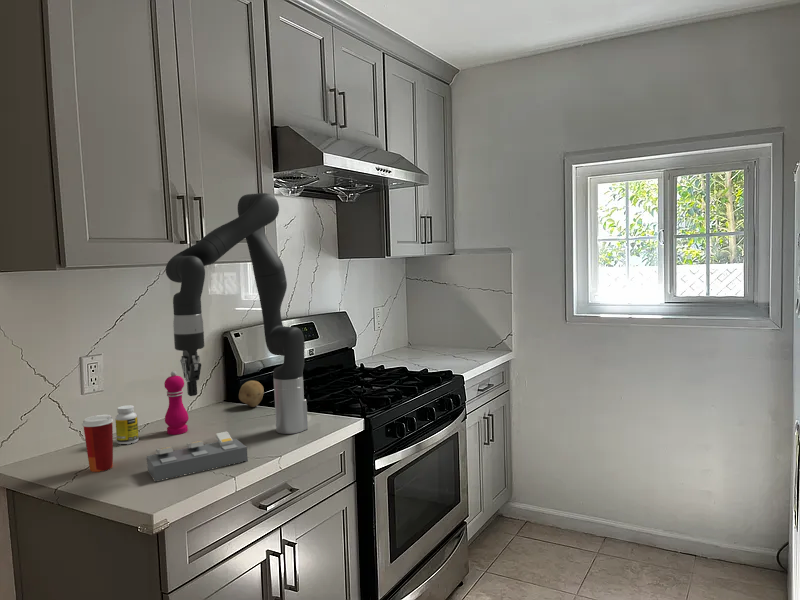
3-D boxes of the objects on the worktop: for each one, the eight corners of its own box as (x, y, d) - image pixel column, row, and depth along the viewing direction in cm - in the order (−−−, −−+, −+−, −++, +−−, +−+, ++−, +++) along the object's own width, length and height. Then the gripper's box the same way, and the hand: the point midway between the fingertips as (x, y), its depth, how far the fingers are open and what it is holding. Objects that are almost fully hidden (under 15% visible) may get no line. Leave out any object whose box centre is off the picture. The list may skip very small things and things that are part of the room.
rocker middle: (199, 445, 169) (198, 441, 169) (203, 445, 165) (203, 440, 165) (187, 448, 167) (186, 443, 167) (191, 447, 163) (191, 443, 163)
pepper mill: (164, 436, 193) (160, 374, 191) (166, 430, 200) (162, 370, 198) (188, 433, 195) (184, 372, 193) (190, 427, 202) (186, 368, 200)
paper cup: (121, 462, 170) (118, 413, 168) (109, 472, 162) (105, 421, 161) (93, 464, 169) (89, 414, 168) (79, 474, 162) (75, 422, 161)
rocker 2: (227, 435, 173) (227, 431, 173) (232, 444, 169) (233, 440, 169) (215, 437, 172) (215, 433, 171) (221, 446, 168) (221, 442, 167)
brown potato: (247, 411, 220) (246, 384, 219) (234, 407, 226) (233, 381, 225) (269, 406, 226) (267, 379, 226) (255, 402, 233) (254, 377, 232)
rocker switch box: (236, 451, 175) (235, 437, 175) (247, 461, 167) (246, 445, 167) (147, 470, 163) (146, 454, 162) (155, 481, 154) (154, 465, 154)
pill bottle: (130, 445, 185) (128, 409, 184) (112, 444, 186) (109, 409, 185) (143, 439, 191) (140, 404, 190) (125, 438, 192) (123, 404, 191)
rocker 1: (168, 451, 165) (168, 446, 165) (172, 451, 160) (172, 446, 161) (156, 454, 163) (155, 449, 163) (160, 454, 159) (159, 449, 159)
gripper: (209, 332, 159) (213, 397, 160) (196, 327, 170) (200, 389, 171) (179, 334, 155) (183, 402, 156) (168, 330, 166) (172, 393, 167)
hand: (192, 395), depth 164 cm, fingers closed
